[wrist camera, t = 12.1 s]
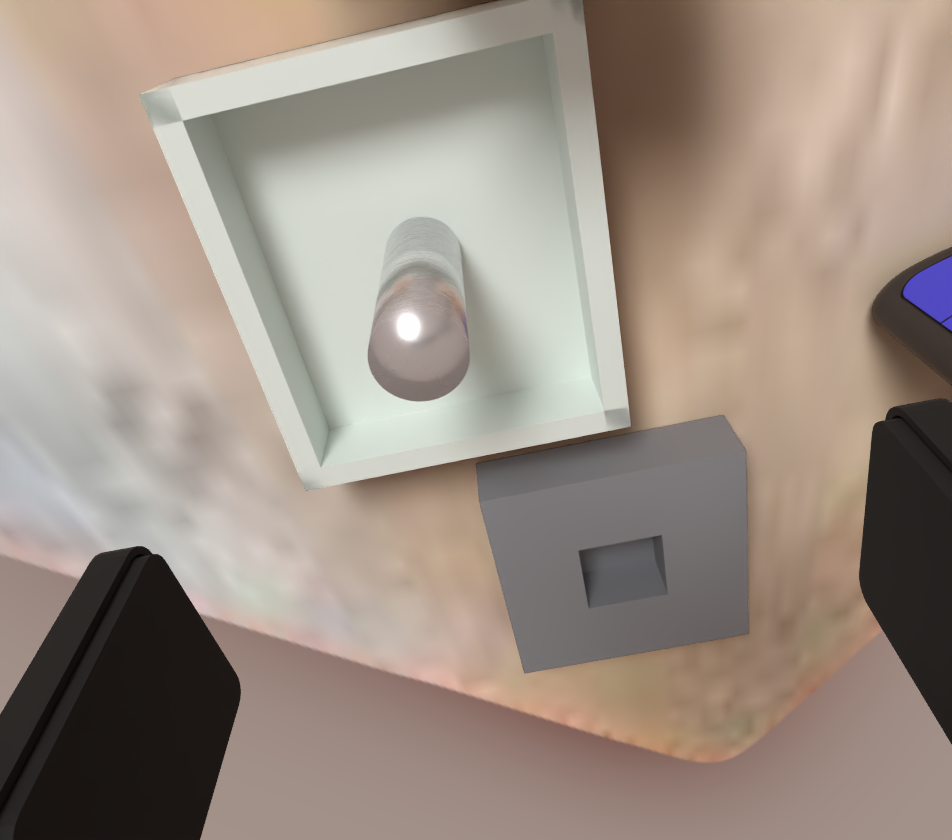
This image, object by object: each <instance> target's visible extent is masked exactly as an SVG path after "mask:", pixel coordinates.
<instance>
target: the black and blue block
mask: <svg viewBox="0 0 952 840" xmlns="http://www.w3.org/2000/svg"><path fill="white" fill-rule="evenodd" d="M873 316H874V319H875V321H876V322H877V323H878V325H879V326H881V327H882V328H883V329H884V330H885V331H887V332H888V333H889V334H890V335H891V336H893V337H894V338H895V339H896V340H897V341H899V342H900V343H901V344H902V345H904V346H905V347H906V348H907V349H908V350H910V351H911V352H912V353H913V354H914V355H916V356H917V357H918V358H919V359H921V360H922V361H923V362H924V363H925V364H927V365H928V366H929V367H930V368H931V369H933V370H934V371H935V372H936V373H938V374H939V375H940V376H941V377H942V378H944V379H945V380H946V381H947V382H948V383H950V384H951V385H952V247H951V248H948V249H946V250H943V251H941V252H939V253H937V254H935V255H933V256H931V257H928V258H926V259H924V260H923V261H921V262H919V263H917V264H915V265H913V266H911V267H910V268H908V269H906V270H905V271H903V272H902V273H900V274H899V275H897V276H896V277H895V278H893V279H892V280H891V281H890V282H889V283H888V284H887V285H886V286H885V287H884V288H883V289H882V290H881V291H880V293H879V294H878V295H877V297H876V299H875V301H874V303H873Z"/></svg>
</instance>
